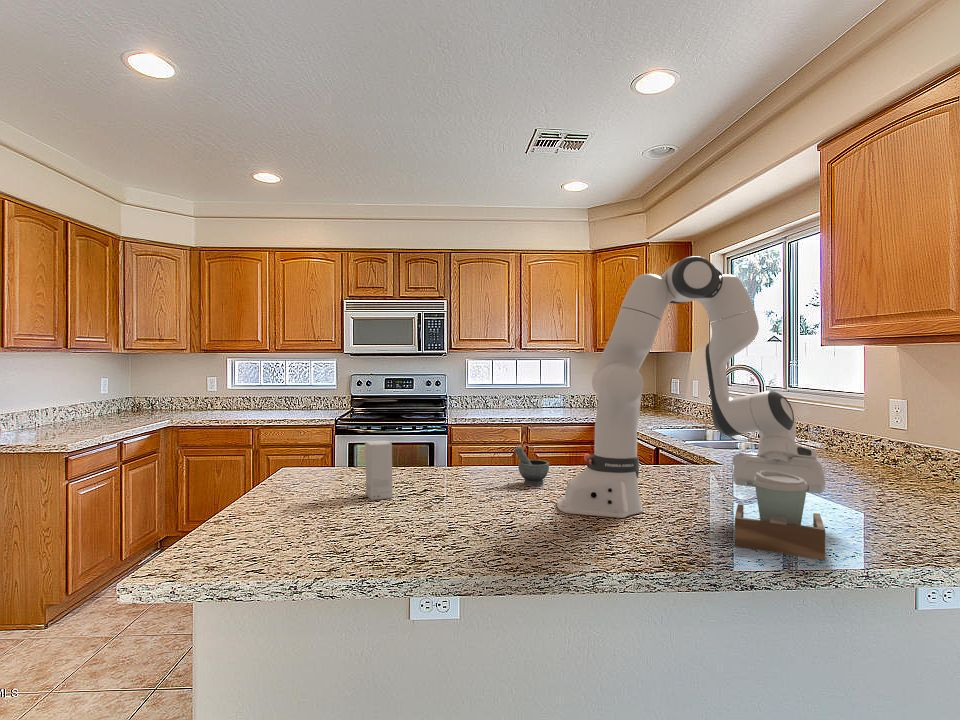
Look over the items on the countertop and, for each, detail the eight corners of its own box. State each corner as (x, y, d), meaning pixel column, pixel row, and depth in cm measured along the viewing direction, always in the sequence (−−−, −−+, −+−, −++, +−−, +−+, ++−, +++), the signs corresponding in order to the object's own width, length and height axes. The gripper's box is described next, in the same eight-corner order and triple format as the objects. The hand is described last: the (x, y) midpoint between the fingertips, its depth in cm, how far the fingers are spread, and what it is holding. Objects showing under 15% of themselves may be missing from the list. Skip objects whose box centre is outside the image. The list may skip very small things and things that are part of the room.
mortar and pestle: (546, 480, 179) (547, 444, 179) (551, 487, 169) (551, 448, 169) (512, 480, 178) (512, 444, 178) (515, 487, 169) (515, 448, 169)
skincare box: (392, 498, 154) (393, 443, 154) (369, 501, 152) (369, 444, 152) (386, 492, 162) (387, 439, 162) (364, 494, 159) (364, 440, 159)
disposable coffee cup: (813, 542, 120) (813, 474, 120) (801, 555, 112) (802, 482, 112) (760, 532, 127) (761, 467, 127) (745, 543, 119) (746, 474, 119)
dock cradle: (737, 529, 128) (737, 498, 128) (819, 540, 121) (819, 508, 121) (734, 546, 117) (734, 512, 117) (824, 559, 109) (825, 524, 109)
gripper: (732, 445, 144) (729, 490, 135) (823, 451, 134) (827, 500, 126) (733, 459, 148) (730, 503, 139) (822, 466, 138) (825, 514, 130)
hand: (777, 502), depth 132 cm, fingers closed
